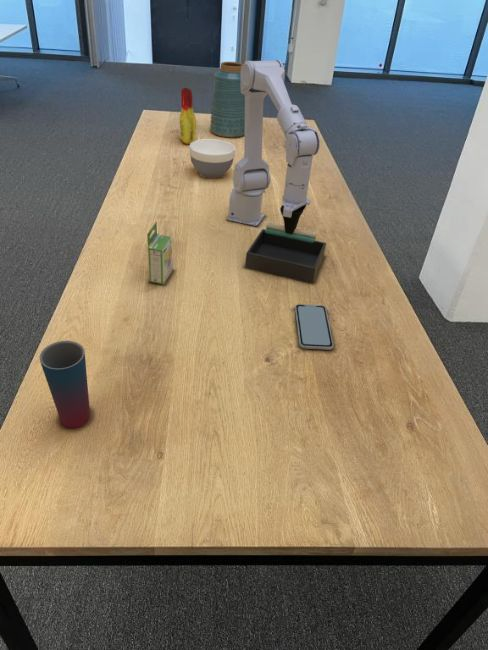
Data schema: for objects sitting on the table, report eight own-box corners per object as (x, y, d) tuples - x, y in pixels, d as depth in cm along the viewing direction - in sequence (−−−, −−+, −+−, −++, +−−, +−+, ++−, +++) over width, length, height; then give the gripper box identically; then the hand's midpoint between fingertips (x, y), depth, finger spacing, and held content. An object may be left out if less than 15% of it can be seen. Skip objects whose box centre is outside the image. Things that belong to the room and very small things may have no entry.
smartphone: (300, 346, 107) (294, 303, 118) (299, 349, 107) (294, 306, 119) (334, 347, 107) (325, 305, 119) (333, 350, 108) (325, 308, 119)
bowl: (242, 177, 178) (244, 150, 172) (203, 185, 171) (204, 157, 165) (218, 162, 188) (219, 136, 182) (181, 169, 181) (181, 142, 175)
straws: (264, 233, 132) (264, 224, 131) (267, 229, 134) (267, 220, 133) (313, 244, 130) (315, 235, 128) (315, 239, 132) (317, 230, 130)
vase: (233, 141, 208) (237, 70, 191) (202, 132, 214) (203, 63, 197) (254, 132, 219) (260, 64, 202) (224, 123, 225) (226, 57, 208)
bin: (245, 267, 132) (246, 252, 129) (260, 243, 142) (262, 228, 139) (312, 283, 128) (315, 268, 125) (323, 257, 138) (326, 242, 136)
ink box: (164, 285, 123) (162, 236, 114) (148, 282, 123) (145, 234, 115) (173, 270, 128) (172, 223, 120) (158, 268, 128) (156, 220, 120)
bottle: (178, 136, 208) (178, 84, 196) (194, 136, 209) (194, 84, 197) (180, 146, 199) (180, 92, 187) (196, 146, 200) (197, 92, 188)
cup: (59, 403, 91) (44, 340, 82) (98, 402, 92) (87, 340, 82) (51, 433, 86) (34, 369, 76) (92, 432, 86) (80, 369, 77)
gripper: (306, 195, 116) (298, 247, 125) (318, 174, 127) (310, 222, 136) (277, 189, 118) (271, 241, 126) (292, 169, 129) (285, 217, 137)
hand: (290, 231), depth 131 cm, fingers closed on straws
